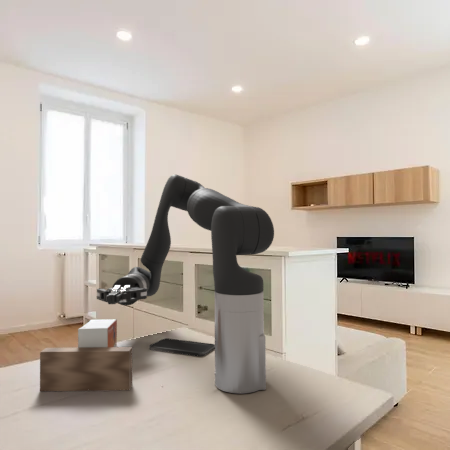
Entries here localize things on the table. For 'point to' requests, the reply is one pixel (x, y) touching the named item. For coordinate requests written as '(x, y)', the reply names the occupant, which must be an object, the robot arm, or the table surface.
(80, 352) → the walnut board
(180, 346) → the phone
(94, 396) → the table surface
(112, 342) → the small box
